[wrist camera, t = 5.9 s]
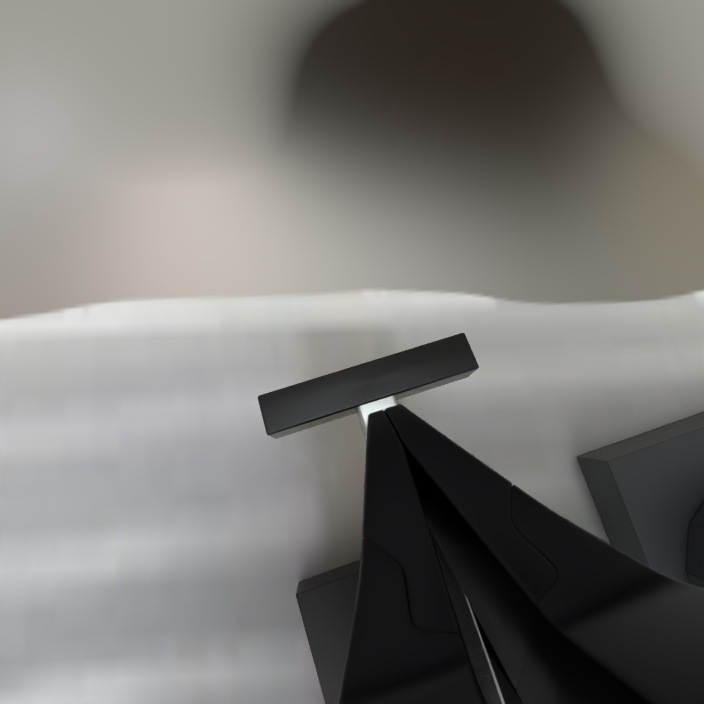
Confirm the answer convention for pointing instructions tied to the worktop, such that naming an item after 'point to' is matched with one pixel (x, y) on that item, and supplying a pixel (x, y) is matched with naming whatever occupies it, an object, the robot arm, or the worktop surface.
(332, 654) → the tap bracket
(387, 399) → the tap lever
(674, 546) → the switch
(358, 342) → the worktop surface
